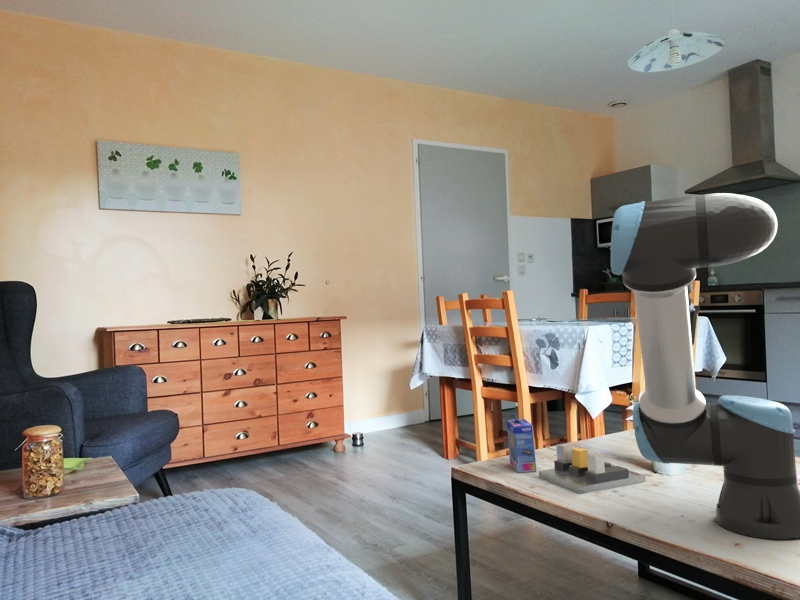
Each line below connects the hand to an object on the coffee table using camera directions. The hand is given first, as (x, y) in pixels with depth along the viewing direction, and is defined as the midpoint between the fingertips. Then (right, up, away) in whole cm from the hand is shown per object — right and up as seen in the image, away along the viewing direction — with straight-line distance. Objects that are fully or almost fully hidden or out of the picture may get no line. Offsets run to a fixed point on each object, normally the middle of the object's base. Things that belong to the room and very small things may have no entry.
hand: (680, 376), depth 141 cm
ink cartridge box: (-34, -27, +18) cm, 47 cm away
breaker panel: (-20, -26, +4) cm, 33 cm away
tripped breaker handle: (-23, -22, +3) cm, 32 cm away
